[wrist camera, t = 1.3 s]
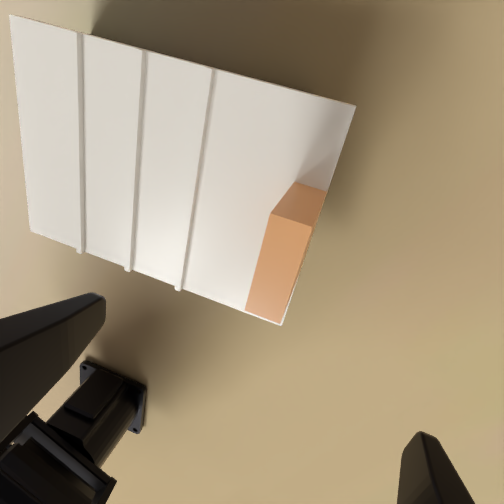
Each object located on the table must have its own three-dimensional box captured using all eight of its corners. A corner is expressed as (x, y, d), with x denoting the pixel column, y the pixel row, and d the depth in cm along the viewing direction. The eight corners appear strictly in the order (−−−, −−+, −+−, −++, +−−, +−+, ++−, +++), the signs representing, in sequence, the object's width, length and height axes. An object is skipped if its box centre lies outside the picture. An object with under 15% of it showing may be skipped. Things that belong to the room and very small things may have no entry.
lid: (284, 319, 19) (259, 384, 15) (38, 227, 21) (-40, 261, 17) (356, 105, 14) (349, 117, 10) (20, 16, 16) (-97, -5, 12)
